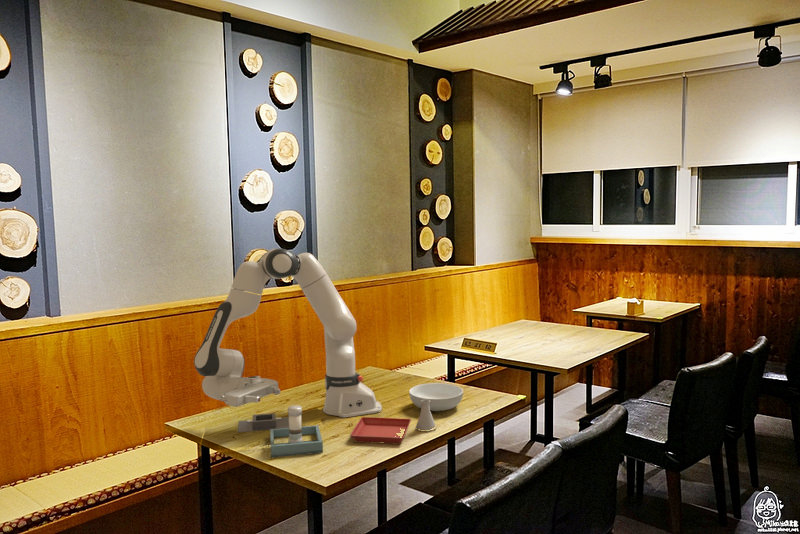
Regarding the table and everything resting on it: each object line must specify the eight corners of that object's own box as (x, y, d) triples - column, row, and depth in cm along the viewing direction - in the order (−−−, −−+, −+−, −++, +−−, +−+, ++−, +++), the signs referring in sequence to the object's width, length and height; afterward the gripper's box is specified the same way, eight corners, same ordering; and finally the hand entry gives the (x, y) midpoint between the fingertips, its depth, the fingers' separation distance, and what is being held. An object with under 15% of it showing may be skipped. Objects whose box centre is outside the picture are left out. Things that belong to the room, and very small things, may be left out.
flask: (429, 433, 211) (429, 405, 210) (411, 430, 215) (411, 401, 214) (439, 427, 217) (439, 399, 216) (422, 424, 221) (421, 396, 220)
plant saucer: (404, 447, 200) (403, 437, 200) (349, 444, 203) (349, 434, 203) (411, 427, 218) (411, 418, 217) (361, 425, 221) (361, 416, 220)
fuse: (302, 440, 204) (301, 405, 202) (302, 445, 199) (301, 409, 198) (288, 441, 203) (287, 405, 202) (288, 446, 199) (288, 410, 197)
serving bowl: (398, 406, 241) (398, 389, 240) (439, 396, 254) (438, 380, 253) (433, 420, 225) (433, 401, 224) (474, 408, 237) (474, 391, 237)
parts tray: (318, 435, 211) (318, 425, 210) (322, 452, 195) (322, 441, 195) (270, 439, 207) (270, 429, 207) (271, 457, 192) (270, 446, 191)
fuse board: (289, 419, 227) (289, 410, 227) (290, 430, 216) (290, 420, 215) (239, 423, 223) (238, 414, 223) (237, 435, 212) (237, 425, 211)
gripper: (215, 389, 205) (245, 395, 198) (260, 374, 222) (289, 378, 215) (216, 408, 206) (246, 414, 198) (261, 391, 223) (290, 396, 215)
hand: (269, 395), depth 207 cm, fingers open, 8 cm apart
